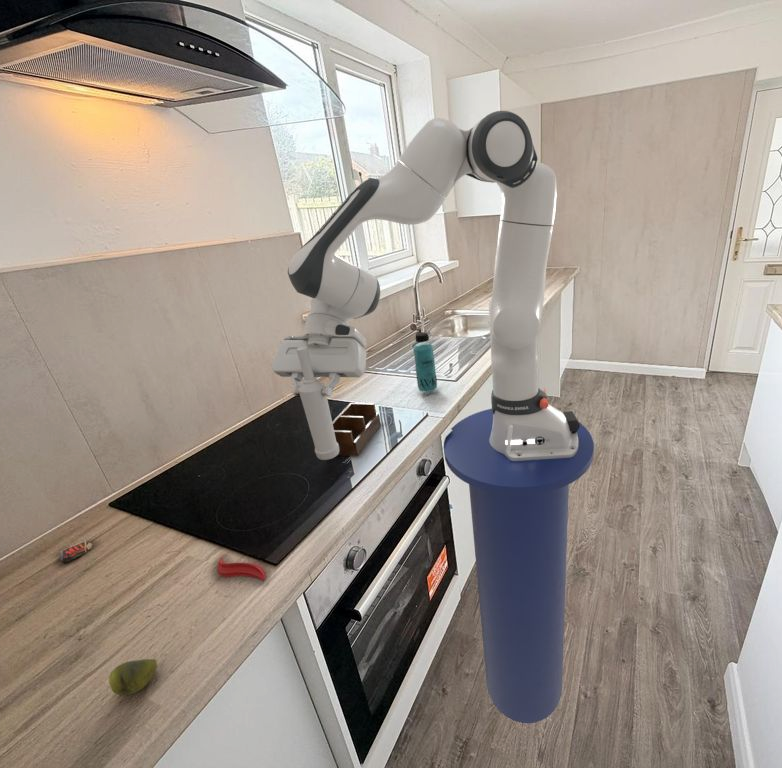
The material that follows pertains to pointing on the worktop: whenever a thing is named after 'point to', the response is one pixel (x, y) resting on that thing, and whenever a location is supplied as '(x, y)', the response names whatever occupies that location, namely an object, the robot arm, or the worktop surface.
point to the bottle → (317, 410)
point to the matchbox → (74, 551)
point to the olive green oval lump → (132, 676)
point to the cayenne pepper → (241, 570)
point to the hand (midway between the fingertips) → (311, 395)
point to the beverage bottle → (425, 363)
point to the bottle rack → (355, 427)
